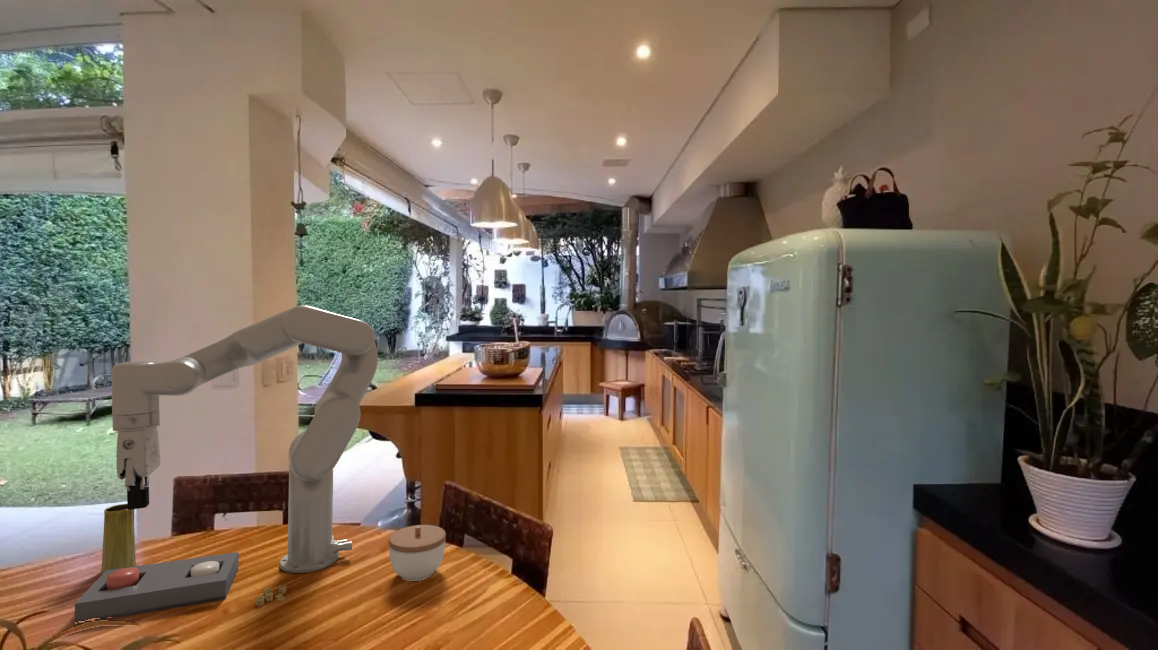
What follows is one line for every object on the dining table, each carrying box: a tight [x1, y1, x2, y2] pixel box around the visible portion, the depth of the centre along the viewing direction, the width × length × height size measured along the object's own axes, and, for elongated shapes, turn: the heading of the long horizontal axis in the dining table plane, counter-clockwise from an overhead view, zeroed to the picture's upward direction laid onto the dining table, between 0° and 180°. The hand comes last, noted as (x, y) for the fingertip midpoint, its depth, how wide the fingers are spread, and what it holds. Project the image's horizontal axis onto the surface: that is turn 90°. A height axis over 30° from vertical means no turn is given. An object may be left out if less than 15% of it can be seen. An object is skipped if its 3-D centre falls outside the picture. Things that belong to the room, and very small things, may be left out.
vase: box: [100, 503, 137, 575], centre depth 119 cm, size 6×6×14 cm
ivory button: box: [191, 561, 219, 577], centre depth 112 cm, size 5×5×3 cm
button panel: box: [74, 551, 240, 623], centre depth 109 cm, size 24×14×4 cm, turn 114°
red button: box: [106, 567, 139, 590], centre depth 106 cm, size 5×5×3 cm
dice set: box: [255, 584, 287, 607], centre depth 108 cm, size 5×5×2 cm
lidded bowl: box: [388, 524, 447, 582], centre depth 120 cm, size 13×13×11 cm
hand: (138, 507), depth 108 cm, fingers closed
